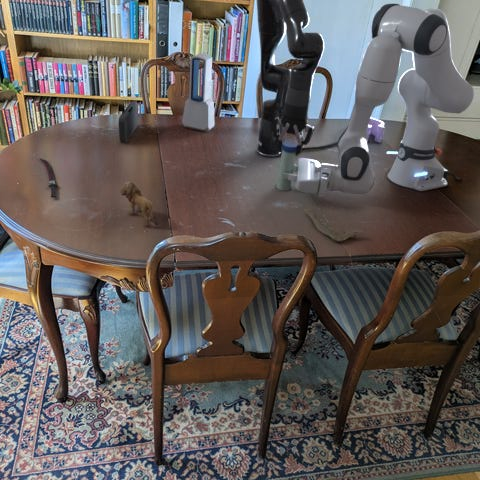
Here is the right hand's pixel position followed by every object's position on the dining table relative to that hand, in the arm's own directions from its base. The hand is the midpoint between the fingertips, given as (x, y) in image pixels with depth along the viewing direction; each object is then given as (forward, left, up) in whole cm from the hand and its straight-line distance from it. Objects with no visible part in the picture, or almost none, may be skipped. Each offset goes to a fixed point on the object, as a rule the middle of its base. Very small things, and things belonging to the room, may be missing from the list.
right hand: (283, 171), depth 158 cm
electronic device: (+16, -59, -6) cm, 61 cm away
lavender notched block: (-60, -46, -6) cm, 76 cm away
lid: (-1, 0, +9) cm, 9 cm away
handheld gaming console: (+46, -54, -6) cm, 71 cm away
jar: (-1, 0, -6) cm, 6 cm away
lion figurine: (+50, +13, -6) cm, 52 cm away
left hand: (-1, 0, +7) cm, 7 cm away
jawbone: (-6, +27, -6) cm, 28 cm away
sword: (+76, -16, -6) cm, 78 cm away
